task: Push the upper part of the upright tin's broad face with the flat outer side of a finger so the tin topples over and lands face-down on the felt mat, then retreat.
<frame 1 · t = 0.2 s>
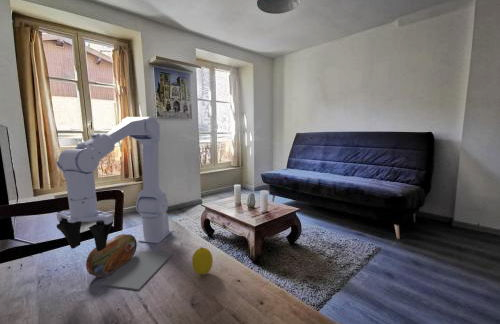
hand: (88, 247, 62), 10 cm above the table, fingers open, 7 cm apart
tin: (114, 267, 71), on the table
lemon: (203, 275, 67), on the table
felt mat: (140, 268, 70), on the table
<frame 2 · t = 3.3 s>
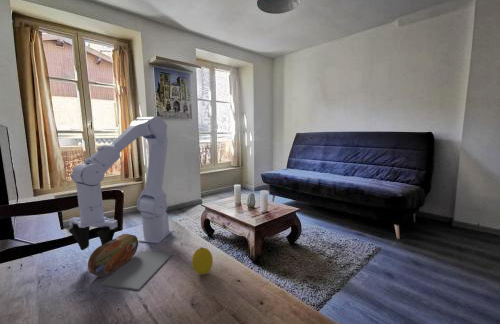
hand: (95, 249, 71), 5 cm above the table, fingers open, 7 cm apart
tin: (114, 266, 71), on the table, touching gripper
everything else where it was.
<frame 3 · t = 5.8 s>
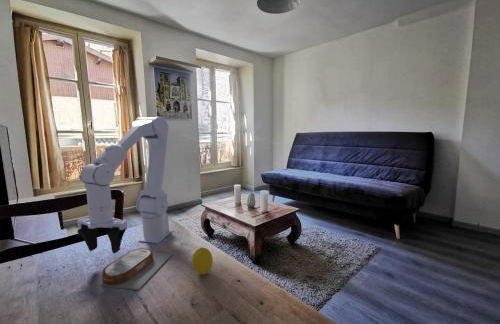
hand: (104, 250, 70), 5 cm above the table, fingers open, 7 cm apart
tin: (117, 261, 70), point 2 cm above the table, touching felt mat
everything else where it was.
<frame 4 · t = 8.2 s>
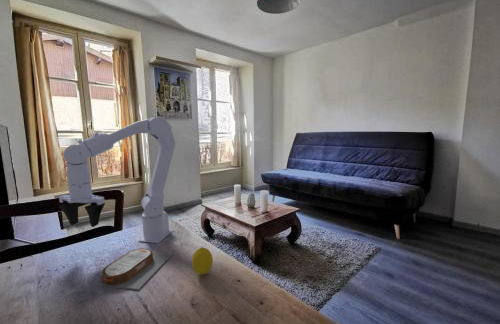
hand: (84, 224, 76), 10 cm above the table, fingers open, 7 cm apart
nothing on the table moved.
at the end: tin tilted 94°; tin inside the target area (1.8 cm from its centre), point 2.0 cm above the table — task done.
